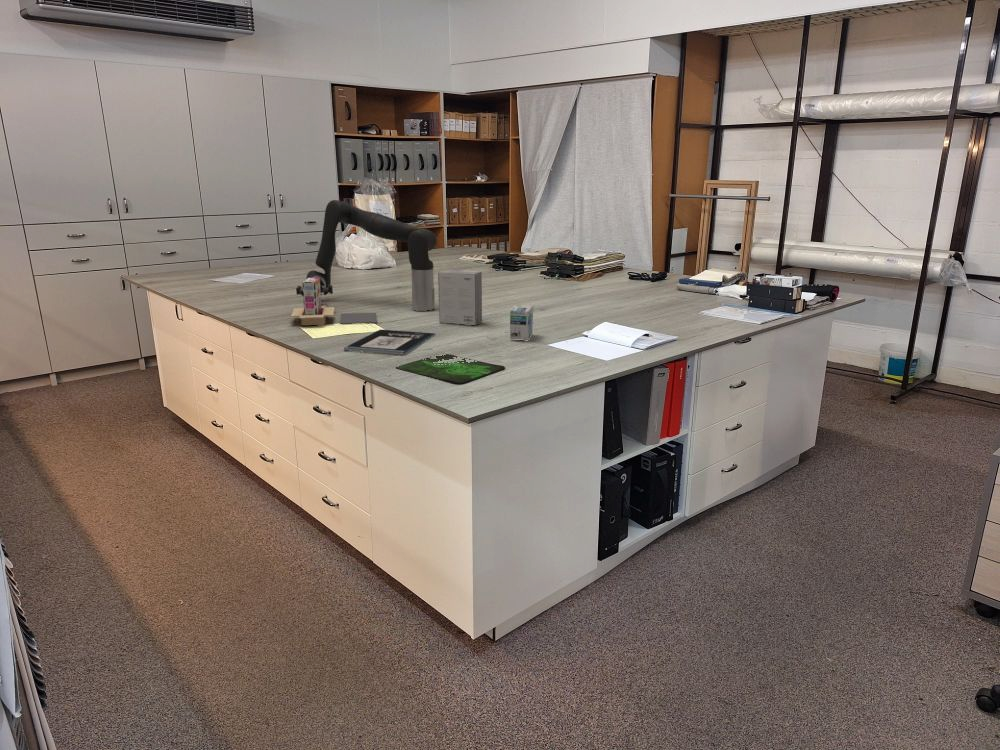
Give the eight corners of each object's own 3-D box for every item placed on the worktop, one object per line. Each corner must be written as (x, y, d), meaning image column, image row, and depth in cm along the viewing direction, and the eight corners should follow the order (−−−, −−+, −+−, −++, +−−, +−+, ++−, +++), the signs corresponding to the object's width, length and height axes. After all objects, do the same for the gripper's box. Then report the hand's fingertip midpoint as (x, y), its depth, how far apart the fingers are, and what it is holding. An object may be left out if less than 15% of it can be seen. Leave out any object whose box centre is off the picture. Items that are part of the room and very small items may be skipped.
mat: (375, 313, 278) (375, 312, 278) (377, 323, 261) (377, 322, 261) (341, 314, 275) (341, 313, 275) (339, 324, 258) (339, 323, 258)
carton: (335, 315, 275) (334, 305, 273) (333, 326, 254) (333, 316, 253) (295, 316, 272) (294, 306, 270) (290, 328, 251) (289, 317, 250)
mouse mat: (391, 369, 204) (391, 365, 203) (441, 354, 220) (441, 351, 220) (460, 386, 188) (460, 383, 187) (507, 369, 204) (508, 366, 204)
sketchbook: (435, 336, 244) (435, 331, 244) (404, 358, 216) (403, 352, 216) (380, 332, 249) (380, 327, 249) (342, 352, 221) (342, 346, 221)
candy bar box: (318, 324, 258) (315, 281, 253) (304, 324, 257) (301, 281, 253) (323, 318, 268) (320, 277, 264) (310, 318, 268) (307, 277, 263)
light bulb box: (528, 341, 236) (528, 311, 233) (509, 340, 237) (509, 310, 234) (532, 334, 246) (533, 305, 243) (514, 333, 247) (515, 304, 244)
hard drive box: (482, 322, 264) (482, 271, 259) (475, 326, 257) (475, 274, 252) (446, 319, 269) (445, 269, 263) (438, 323, 262) (437, 271, 256)
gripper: (298, 277, 281) (294, 284, 266) (333, 276, 284) (331, 283, 269) (299, 295, 284) (295, 302, 268) (334, 294, 286) (332, 301, 271)
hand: (313, 293), depth 269 cm, fingers open, 8 cm apart
